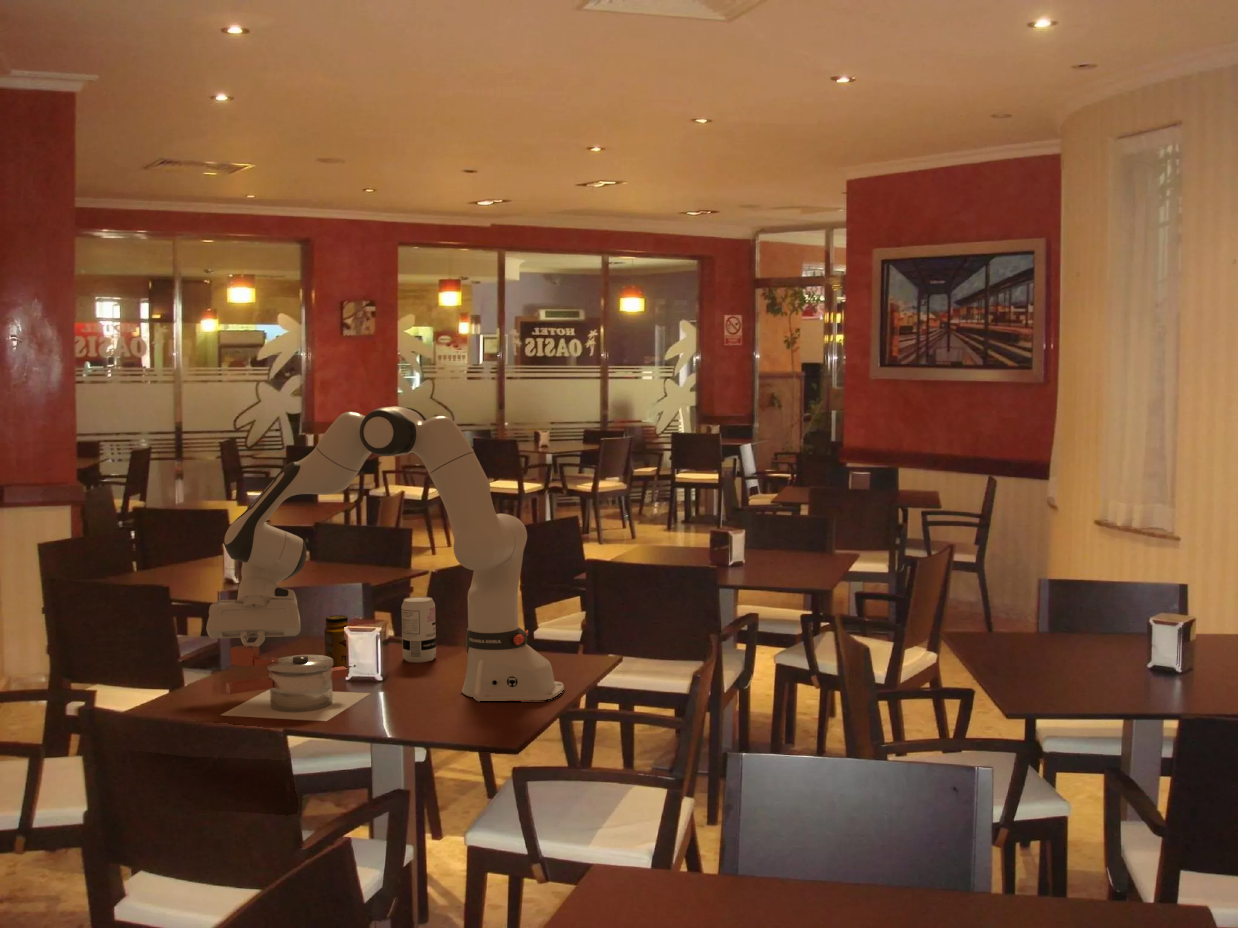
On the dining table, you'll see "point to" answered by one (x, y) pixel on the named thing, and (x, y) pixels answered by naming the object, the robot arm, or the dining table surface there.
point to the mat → (262, 709)
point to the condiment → (336, 639)
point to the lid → (280, 661)
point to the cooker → (294, 689)
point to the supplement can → (418, 629)
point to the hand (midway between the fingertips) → (250, 651)
